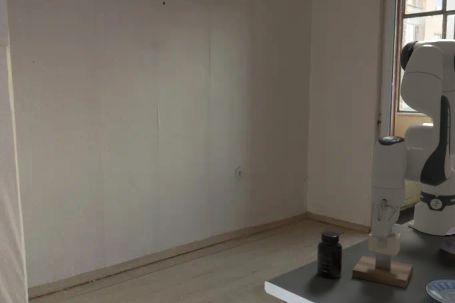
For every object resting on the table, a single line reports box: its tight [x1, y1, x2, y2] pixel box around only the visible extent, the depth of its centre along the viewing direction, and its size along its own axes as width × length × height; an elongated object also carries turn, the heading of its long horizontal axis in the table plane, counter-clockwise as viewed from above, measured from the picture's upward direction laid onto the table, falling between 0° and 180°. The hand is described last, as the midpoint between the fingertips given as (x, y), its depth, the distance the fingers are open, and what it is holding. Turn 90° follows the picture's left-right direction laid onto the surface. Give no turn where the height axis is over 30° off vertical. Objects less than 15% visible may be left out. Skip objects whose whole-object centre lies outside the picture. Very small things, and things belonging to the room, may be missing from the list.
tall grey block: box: [375, 252, 393, 270], centre depth 127 cm, size 2×4×4 cm, turn 60°
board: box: [352, 255, 414, 289], centre depth 128 cm, size 12×14×2 cm
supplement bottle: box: [316, 230, 343, 280], centre depth 127 cm, size 7×7×12 cm
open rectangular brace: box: [367, 230, 402, 256], centre depth 127 cm, size 8×5×5 cm
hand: (384, 244), depth 127 cm, fingers closed on open rectangular brace, 5 cm apart
